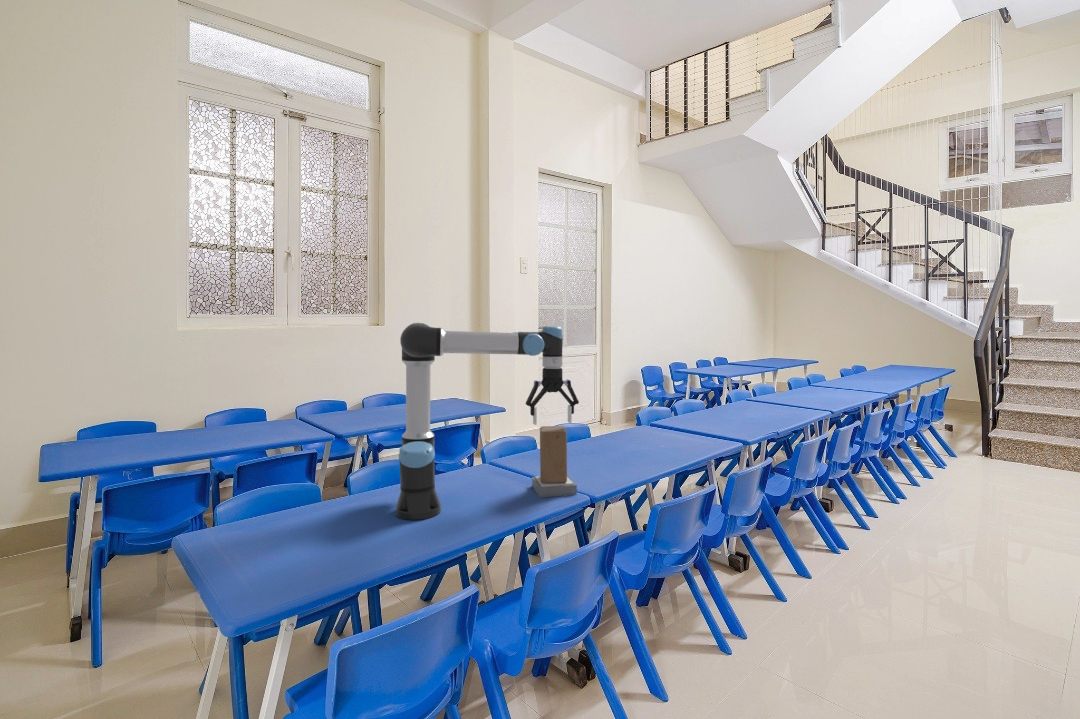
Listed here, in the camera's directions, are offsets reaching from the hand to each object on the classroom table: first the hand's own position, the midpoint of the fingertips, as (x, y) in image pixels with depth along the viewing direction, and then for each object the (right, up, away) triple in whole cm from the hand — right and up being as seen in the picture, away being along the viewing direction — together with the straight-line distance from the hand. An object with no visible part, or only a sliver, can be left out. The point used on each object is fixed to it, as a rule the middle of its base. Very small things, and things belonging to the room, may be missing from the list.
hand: (552, 423), depth 217 cm
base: (+1, -26, +2) cm, 26 cm away
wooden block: (+1, -22, +2) cm, 22 cm away
